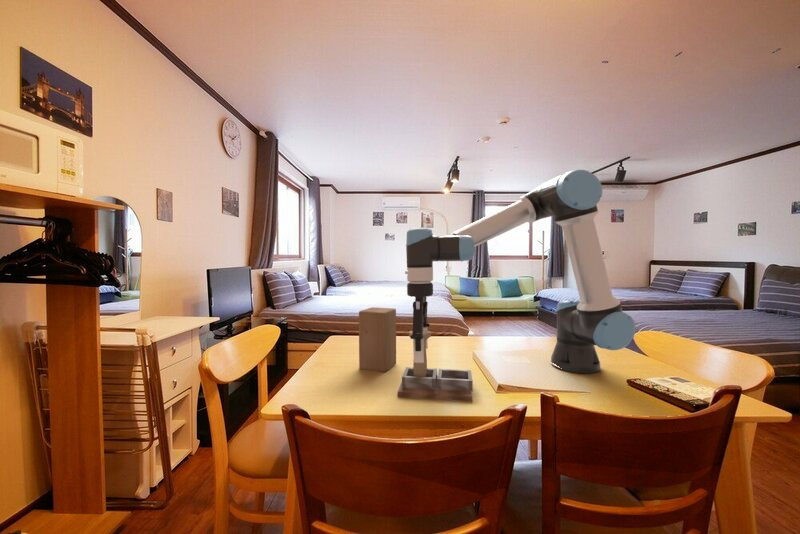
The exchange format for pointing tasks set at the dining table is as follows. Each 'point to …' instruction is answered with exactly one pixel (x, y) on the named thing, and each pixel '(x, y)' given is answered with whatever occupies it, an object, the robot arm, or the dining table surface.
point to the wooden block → (377, 339)
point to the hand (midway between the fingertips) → (421, 354)
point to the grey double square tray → (437, 385)
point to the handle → (421, 368)
